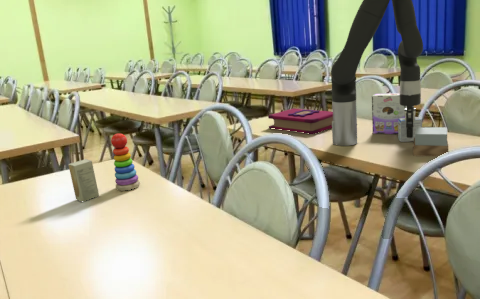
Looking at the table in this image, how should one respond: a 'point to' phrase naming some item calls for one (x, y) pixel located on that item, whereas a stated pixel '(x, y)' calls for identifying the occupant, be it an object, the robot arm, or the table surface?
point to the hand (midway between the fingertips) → (409, 135)
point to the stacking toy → (123, 164)
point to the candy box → (386, 113)
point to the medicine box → (403, 130)
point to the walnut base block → (429, 150)
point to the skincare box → (83, 180)
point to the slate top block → (431, 136)
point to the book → (302, 120)
